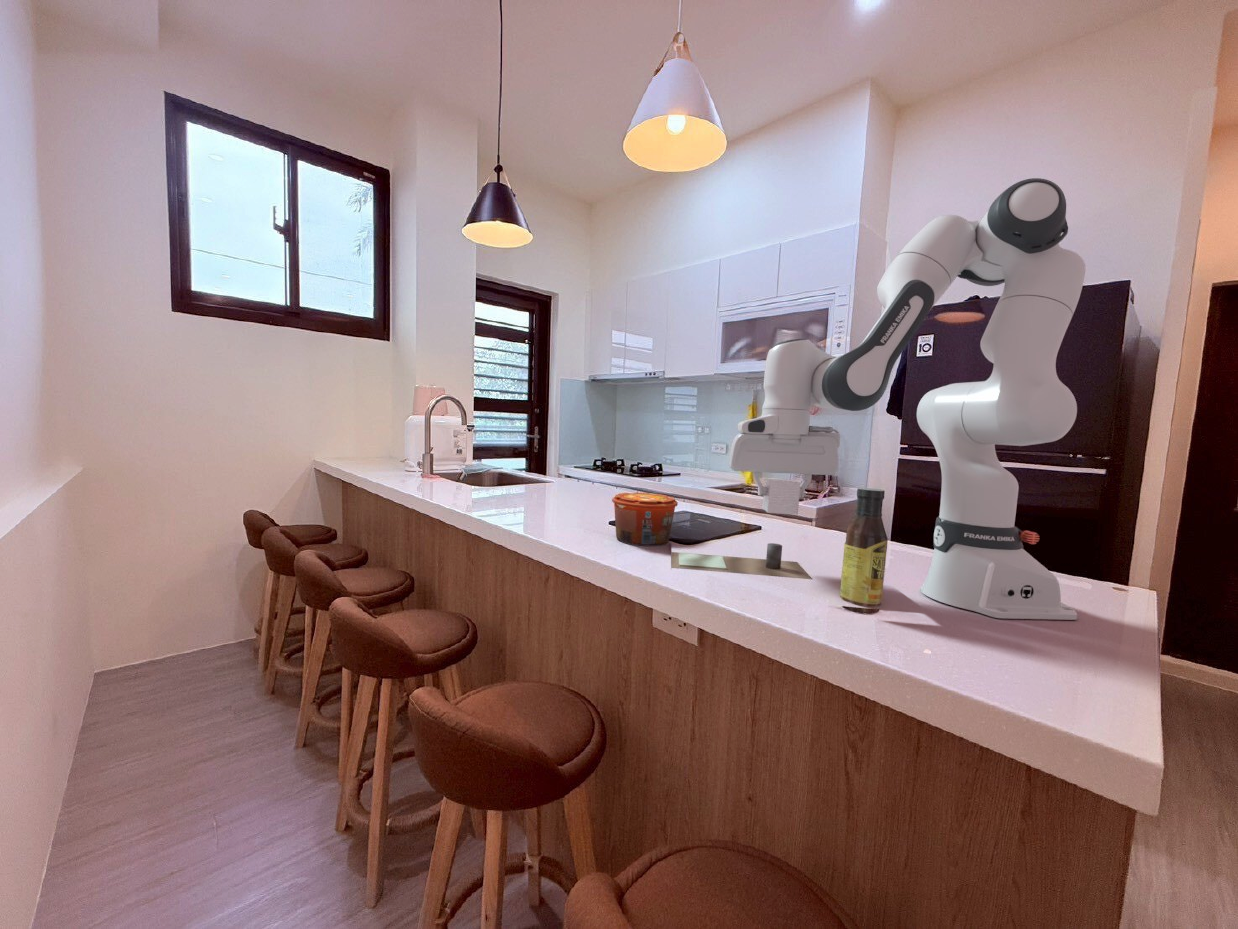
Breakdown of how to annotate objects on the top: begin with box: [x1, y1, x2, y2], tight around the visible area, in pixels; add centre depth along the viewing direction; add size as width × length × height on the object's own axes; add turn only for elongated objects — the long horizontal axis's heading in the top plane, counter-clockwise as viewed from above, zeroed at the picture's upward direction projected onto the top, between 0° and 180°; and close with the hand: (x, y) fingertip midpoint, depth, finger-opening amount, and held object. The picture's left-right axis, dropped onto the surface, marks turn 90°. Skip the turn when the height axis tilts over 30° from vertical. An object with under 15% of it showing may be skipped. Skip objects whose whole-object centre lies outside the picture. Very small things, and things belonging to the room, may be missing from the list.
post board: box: [670, 542, 813, 580], centre depth 102 cm, size 26×12×6 cm, turn 84°
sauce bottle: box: [839, 487, 888, 615], centre depth 84 cm, size 6×6×20 cm
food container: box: [611, 492, 679, 547], centre depth 126 cm, size 16×16×11 cm
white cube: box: [762, 478, 801, 516], centre depth 100 cm, size 6×6×6 cm
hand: (780, 496), depth 101 cm, fingers closed on white cube, 6 cm apart
